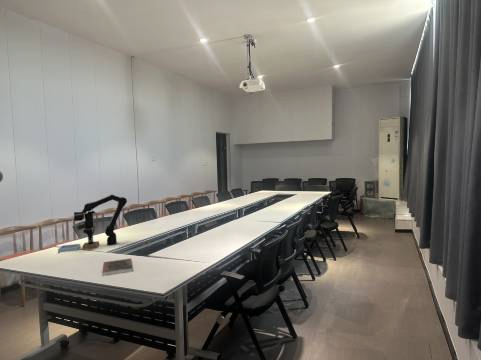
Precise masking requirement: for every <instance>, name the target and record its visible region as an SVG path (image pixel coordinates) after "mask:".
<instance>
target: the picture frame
mask: <svg viewBox="0 0 481 360" xmlns="http://www.w3.org/2000/svg"><path fill="white" fill-rule="evenodd" d="M132 261H133V260H132V258H125V259H124V258H123V259H118V260H117V259H116V260H111V261H104V262H103V264H102V265H103V266H102V270H101V271H102V272H101V274H102V275H101V276H102V277H104V276H111V275H116V274H123V273H129V272H130V273H131V272H133V271H134V270H133V262H132Z"/></svg>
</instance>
